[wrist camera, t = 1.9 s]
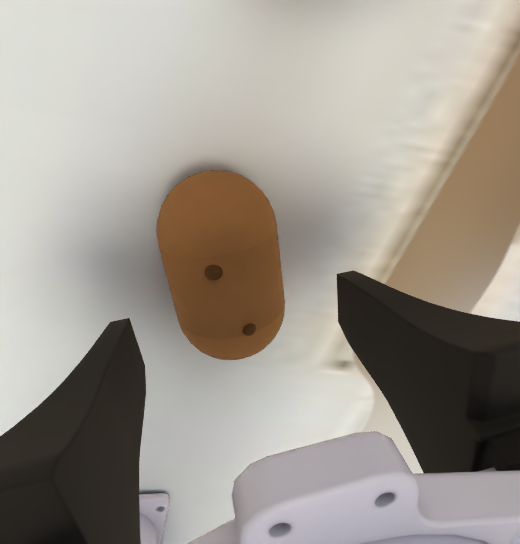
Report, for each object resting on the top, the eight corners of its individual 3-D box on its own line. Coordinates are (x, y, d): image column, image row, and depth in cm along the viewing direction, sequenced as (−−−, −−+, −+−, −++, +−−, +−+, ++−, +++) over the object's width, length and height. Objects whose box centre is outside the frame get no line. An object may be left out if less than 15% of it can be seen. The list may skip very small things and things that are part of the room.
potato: (275, 310, 22) (303, 371, 18) (185, 329, 21) (191, 397, 17) (256, 150, 18) (285, 178, 14) (145, 169, 17) (139, 204, 13)
